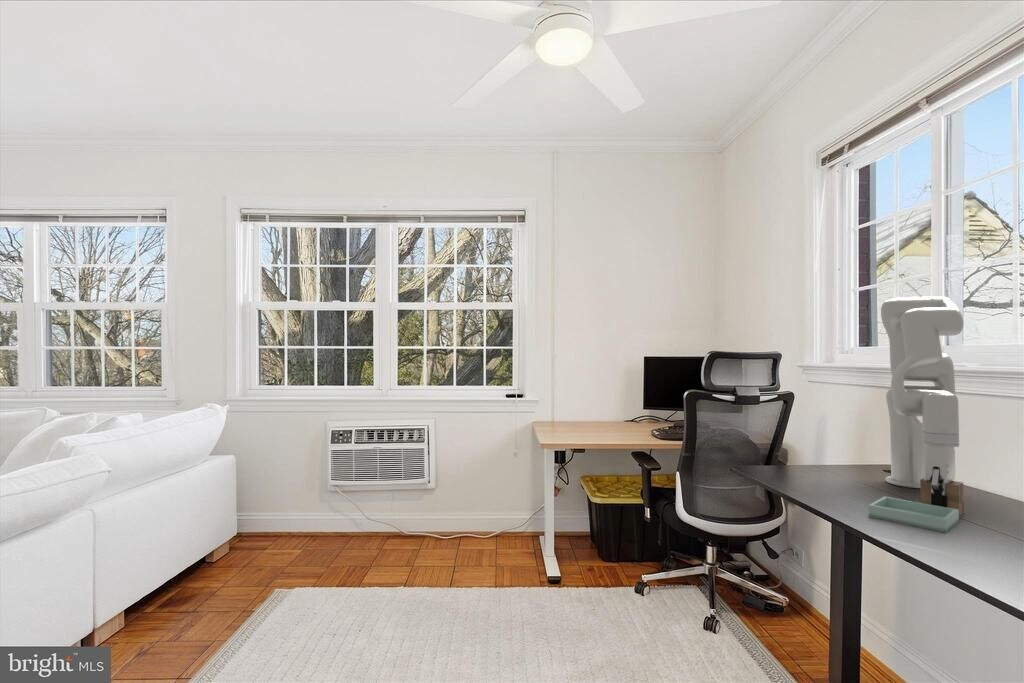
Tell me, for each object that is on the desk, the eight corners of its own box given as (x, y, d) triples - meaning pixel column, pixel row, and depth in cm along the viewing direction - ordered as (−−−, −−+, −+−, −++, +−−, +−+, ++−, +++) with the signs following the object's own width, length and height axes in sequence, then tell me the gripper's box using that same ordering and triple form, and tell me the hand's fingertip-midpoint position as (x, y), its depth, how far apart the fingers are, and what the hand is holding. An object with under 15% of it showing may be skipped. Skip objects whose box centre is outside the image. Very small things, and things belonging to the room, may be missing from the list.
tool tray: (884, 507, 142) (884, 496, 142) (958, 521, 130) (958, 509, 130) (868, 516, 134) (868, 505, 134) (946, 532, 122) (946, 520, 122)
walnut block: (925, 506, 143) (925, 476, 143) (963, 513, 137) (963, 482, 137) (920, 509, 140) (920, 479, 140) (959, 516, 133) (958, 485, 134)
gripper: (931, 434, 147) (932, 499, 146) (914, 440, 136) (915, 510, 136) (966, 437, 141) (967, 505, 141) (950, 444, 130) (952, 517, 130)
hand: (942, 507), depth 138 cm, fingers closed on walnut block, 5 cm apart
